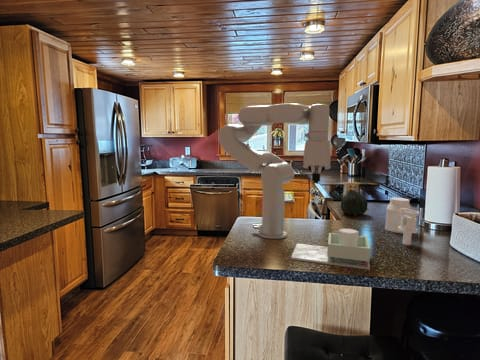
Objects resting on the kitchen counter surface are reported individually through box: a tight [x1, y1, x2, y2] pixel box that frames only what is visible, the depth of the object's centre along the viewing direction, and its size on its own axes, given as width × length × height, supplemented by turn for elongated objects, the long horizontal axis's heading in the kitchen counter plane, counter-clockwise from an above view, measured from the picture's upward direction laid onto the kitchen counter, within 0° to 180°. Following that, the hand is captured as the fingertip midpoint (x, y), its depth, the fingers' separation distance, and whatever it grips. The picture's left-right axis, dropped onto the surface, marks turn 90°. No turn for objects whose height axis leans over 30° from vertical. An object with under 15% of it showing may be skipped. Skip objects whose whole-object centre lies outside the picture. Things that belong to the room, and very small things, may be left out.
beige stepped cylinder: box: [398, 208, 420, 246], centre depth 129 cm, size 7×7×15 cm
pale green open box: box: [327, 232, 371, 263], centre depth 112 cm, size 14×14×6 cm
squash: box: [340, 190, 368, 217], centre depth 181 cm, size 14×15×15 cm
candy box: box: [342, 181, 360, 198], centre depth 204 cm, size 9×4×15 cm, turn 103°
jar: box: [384, 197, 413, 234], centre depth 150 cm, size 12×10×15 cm
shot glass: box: [338, 227, 360, 246], centre depth 112 cm, size 7×7×7 cm
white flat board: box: [290, 242, 371, 271], centre depth 115 cm, size 26×16×1 cm, turn 73°
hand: (315, 183), depth 125 cm, fingers closed
